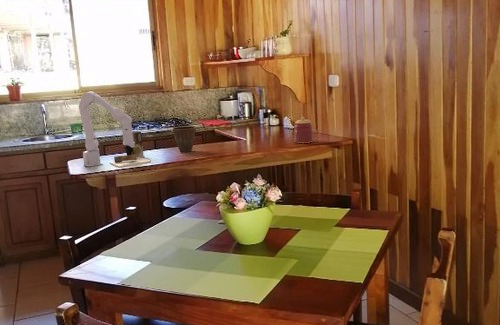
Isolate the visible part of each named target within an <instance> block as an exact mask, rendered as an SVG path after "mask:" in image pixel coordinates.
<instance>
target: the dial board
mask: <svg viewBox="0 0 500 325" xmlns="http://www.w3.org/2000/svg"><path fill="white" fill-rule="evenodd" d="M150 162H151V163H152V161H151V160H149V159H146V158H143V157H142V156H140V157H137V160H130V161H122V162H115V160H114V161H110V162H109V164H110V165H111V166H115V167H116V168H125V167H131V166H136V165H144V164H150Z"/></svg>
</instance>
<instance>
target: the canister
mask: <svg viewBox="0 0 500 325" xmlns="http://www.w3.org/2000/svg"><path fill="white" fill-rule="evenodd" d="M300 118H301V119H298V120H296V121H294V123H295V124H294V125H293V127H294V130H293V133H294V134H293V135H294V139H293V140H294V143H295V142H309V141H312V140H313V141H314V129H313V126H314V125H313V123H312V120H310V119H306V118H305V116H301V117H300Z"/></svg>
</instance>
